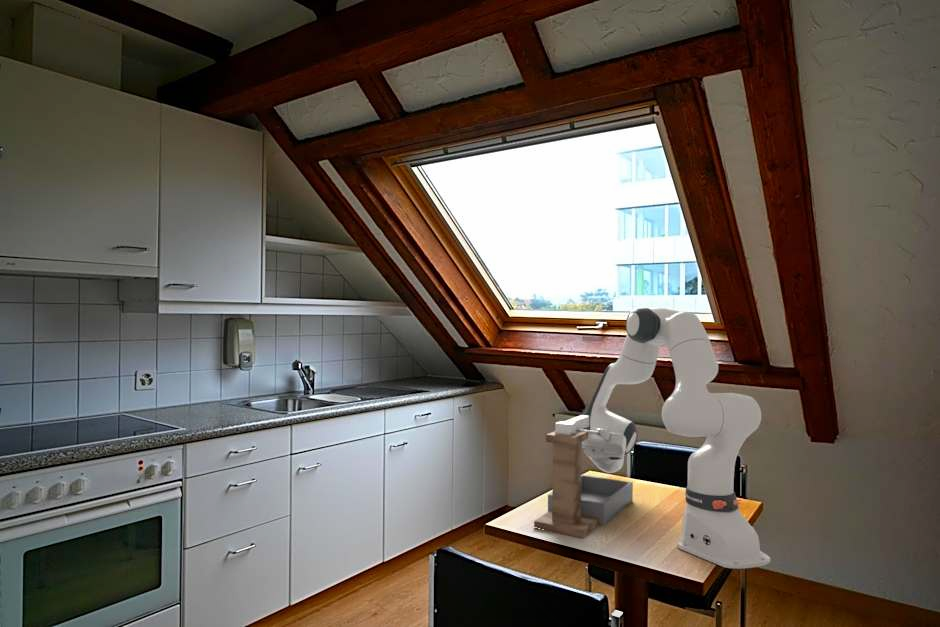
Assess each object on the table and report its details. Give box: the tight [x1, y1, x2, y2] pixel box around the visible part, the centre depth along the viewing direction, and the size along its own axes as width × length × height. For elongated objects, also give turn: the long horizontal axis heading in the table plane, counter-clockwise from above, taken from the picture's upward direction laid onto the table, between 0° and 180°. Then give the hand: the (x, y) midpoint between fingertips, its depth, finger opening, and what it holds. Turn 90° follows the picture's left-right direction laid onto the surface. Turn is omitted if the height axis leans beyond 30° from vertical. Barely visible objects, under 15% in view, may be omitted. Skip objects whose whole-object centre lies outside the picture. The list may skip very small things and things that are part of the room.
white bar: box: [554, 414, 589, 436], centre depth 180 cm, size 17×4×3 cm, turn 149°
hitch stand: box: [533, 430, 599, 539], centre depth 175 cm, size 12×14×26 cm
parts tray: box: [547, 474, 634, 526], centre depth 193 cm, size 27×17×6 cm, turn 149°
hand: (584, 429), depth 186 cm, fingers open, 8 cm apart
